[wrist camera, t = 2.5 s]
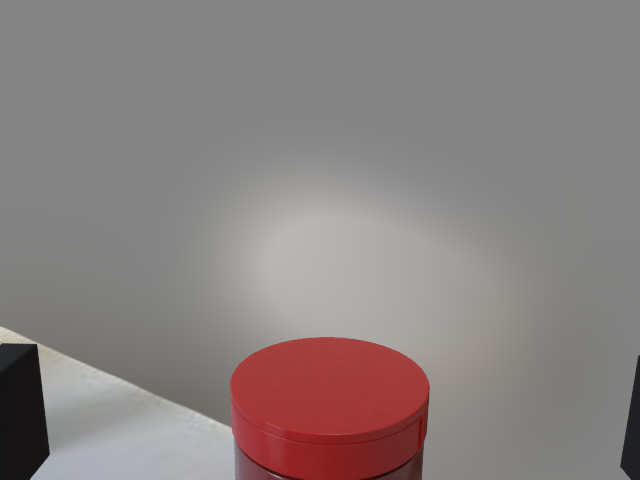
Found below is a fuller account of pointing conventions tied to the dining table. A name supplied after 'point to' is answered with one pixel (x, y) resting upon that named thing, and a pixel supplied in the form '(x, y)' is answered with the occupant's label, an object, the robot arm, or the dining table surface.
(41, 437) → the robot arm
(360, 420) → the jam lid
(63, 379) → the dining table surface
